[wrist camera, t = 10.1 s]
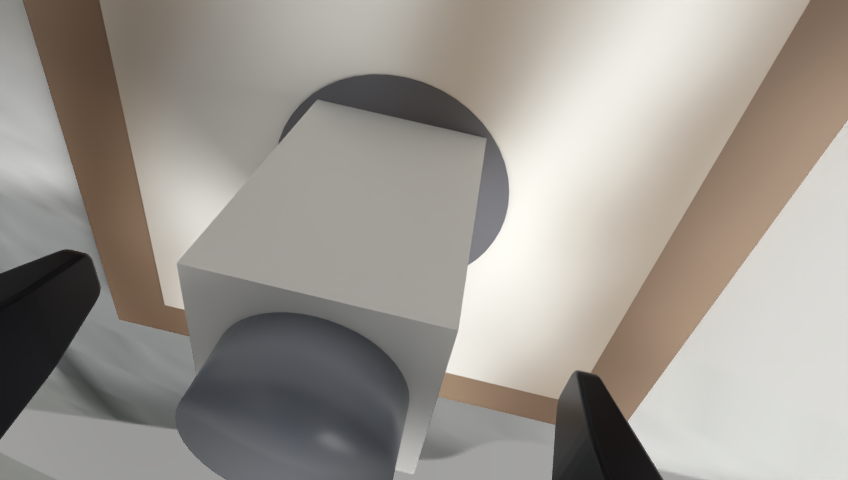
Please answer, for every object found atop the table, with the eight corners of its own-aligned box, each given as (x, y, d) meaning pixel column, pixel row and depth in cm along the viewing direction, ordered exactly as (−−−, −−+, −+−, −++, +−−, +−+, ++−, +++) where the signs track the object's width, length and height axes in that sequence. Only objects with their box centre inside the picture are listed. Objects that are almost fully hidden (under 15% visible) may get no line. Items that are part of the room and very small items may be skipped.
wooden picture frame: (971, -114, 9) (1023, -110, 8) (610, 414, 19) (615, 443, 18) (-27, -319, 9) (-87, -337, 8) (135, 300, 19) (116, 322, 18)
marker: (486, 138, 12) (446, 404, 6) (451, 267, 14) (401, 543, 8) (317, 99, 12) (122, 325, 6) (312, 234, 14) (168, 485, 9)
